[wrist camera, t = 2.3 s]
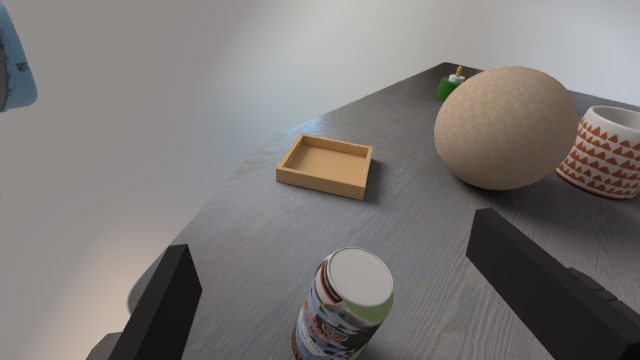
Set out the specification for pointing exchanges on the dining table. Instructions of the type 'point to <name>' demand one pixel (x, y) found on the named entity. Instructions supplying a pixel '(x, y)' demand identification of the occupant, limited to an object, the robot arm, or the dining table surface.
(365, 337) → the beverage can
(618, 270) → the dining table surface
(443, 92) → the candle
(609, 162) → the planter
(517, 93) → the decorative sphere
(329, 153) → the wooden serving tray
